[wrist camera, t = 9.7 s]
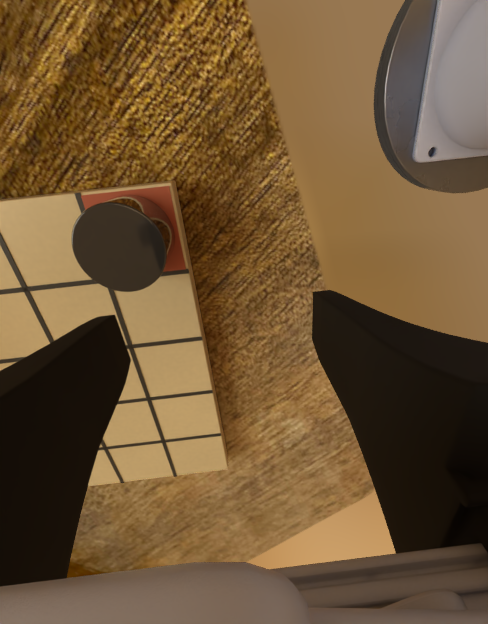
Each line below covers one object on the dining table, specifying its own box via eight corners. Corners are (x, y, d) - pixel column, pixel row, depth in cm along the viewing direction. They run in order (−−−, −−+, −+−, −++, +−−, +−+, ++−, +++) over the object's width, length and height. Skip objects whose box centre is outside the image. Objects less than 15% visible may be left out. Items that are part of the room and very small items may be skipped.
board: (175, 180, 17) (171, 182, 15) (227, 455, 29) (228, 470, 27) (-175, 218, 17) (-212, 224, 15) (25, 479, 29) (15, 496, 27)
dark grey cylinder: (165, 189, 16) (154, 196, 13) (182, 267, 18) (175, 287, 15) (83, 198, 15) (55, 208, 13) (109, 275, 18) (89, 297, 15)
